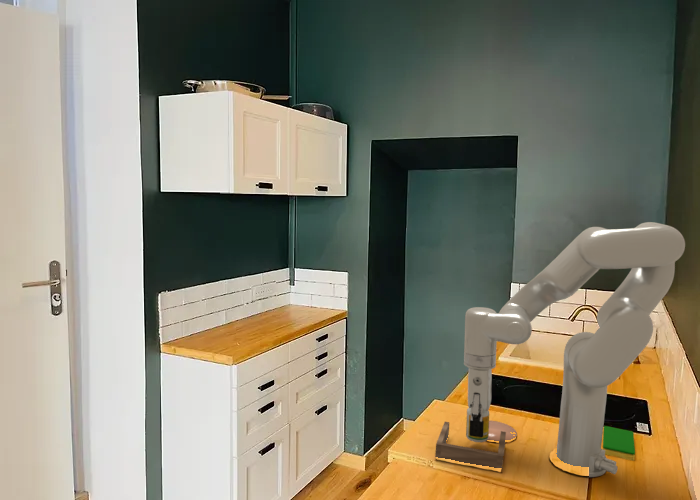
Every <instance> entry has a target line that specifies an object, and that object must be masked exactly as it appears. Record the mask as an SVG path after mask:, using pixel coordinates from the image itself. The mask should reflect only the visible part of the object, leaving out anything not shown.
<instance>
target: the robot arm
mask: <svg viewBox="0 0 700 500" xmlns="http://www.w3.org/2000/svg"><path fill="white" fill-rule="evenodd" d="M685 247H686V240H685V238H684V236H683V234H682V233H681V232H680V230H678V229H677V228H675V227H673V226H671V225H667V224H663V223H659V222H654V221H653V222H651V221H647V222H642V223H640V224H638V225H637V226H636V227H631V228H630V227H629V228H615V229H614V228H612V229H611V228H610V229H608V228H605V227H602V226H592V227H591V226H590V227H587V228H586V229H584V230H583V231H581V233H580V234H578V235H577V236H576V237H575V238H574V239H573V240H572V241H571V242H570V243H569V244H568V245H567V246H566V247H565V248H564V249H563V250H562V251H561V252H560V253H559V254H558V255H557V256H556V258H554V259H553V260H552V261H551V262H550V263H549V264H548V265H547V266H546V267H544V269H543V270H541V271H540V272H539V273H537V274H536V275H535V276H534V277H533V278H532V279H530V281H528V282H527V283H526V284H525V285H523V286H522V288H520V289H519V290H518V291H517V292H516V293H515V294H514V295H513V296H512V297H511V298H510V299H509V300H508V301H507V302H506V303H505V304H504V305H503V306H502V307H501V309H500V310H499V312H498V313H497V311H496V310H494V309H492V308H490V307H483V306H482V307H481V306H480V307H479V306H477V307H476V306H474V307H471V308H468V309H467V310H466V311H465V316H464V317H465V318H464V349H463V350H464V352H463V365H464V366H465V367H466V368H468V375H467V407H468V408H470V409H471V419H470V430H469V435H470V436H475V437H483V426H484V421H482V420H483V409H485V410H486V411H487V410H489V409H490V407H491V403H492V376H493V375H492V370H493V369H494V368H496V366H497V365H496V364H497V342H500V343H504V344H509V345H521V344H522V345H523V344H524V343H526V342H527V341H529V339H530V338H531V335H532V331H533V328H532V323H531V322H532V321H534V319H535V318H537V316H538V315H540V314H541V313H542V312H543V311H544V310H545V309H547V308H548V307H549V306H551V305H552V304H554V303H556V302H559V301H563V300H566V299H569V298H570V297H571V296H573V295H574V294H575V293H577V291H578V290H580V289H581V288H582V287H583V285H585V284H586V283H587V282H588V281H589V280H590V279H591V278H592V277H593V276H594V275H595V274H596V273H598V272H599V270H619V269H620V270H622V269H624V270H625V269H630V271H629V273H628V274H627V276H626V277H625V278H624V280H623V281H622V282H621V283H620V285H619V286H618V287H617V288H616V289H615V291H614V292H613V293H612V294H611V295H610V297H609V298H608V299H607V300H606V301H605V302H604V303H603V304H602V306H601V307H600V308H599V309H598V311H597V315H596V321H597V325H598V329H597V330H596V331H595V333H593V332H588V331H582V332H577V333H575V334H574V335H572V336H571V337H570V338H569V339H568V340H567V342H566V343H565V346H564V351H563V381H562V391H561V393H562V394H561V400H560V411H559V421H558V422H559V423H558V434H557V435H558V436H557V444H556V448H557V453H556V454H557V457H558V458H559V459H560V460H561V461H563V462H564V463H567V464H570V465H573V466H581V467H589V477H588V478H596V477H600V476H603V475H604V474H606V472H608V473H610V474H613V475H616V474H617V472H618V466H617V461H615V460H613V459H610V458H607V456H606V455H605V450H603V448H602V445H603V430H604V426H605V425H604V423H605V414H606V405H607V395H608V386H610V385H611V384H612V383H614V382H615V381H617V379H619V378H620V377H621V375H622V374H623V373H624V372H625V371H626V370H627V369H628V368H629V367H630V366H631V364H633V362H635V360H636V358H638V357H639V355H640V354H641V353H642V352H643V351H644V350H645V348H646V347H647V345H648V344H649V343H650V340H652V336H653V333H654V324H653V320H652V318H651V316H650V315H651V313H653V311H654V310H655V309H656V308H657V306H658V305H659V303H661V301H662V300H663V298H664V297H665V296H666V294H667V293H668V292H669V290H670V288H671V286H672V283H673V282H674V277H675V272H676V271H675V269H676V268H675V267H676V266H675V265H676V264H675V263H676V261H678V260H679V259H680V258H681V257H682V256H683V255H684V252H685V249H686V248H685ZM479 405H480V406H481V408H479ZM479 411H480V413H479ZM489 411H490V410H489Z"/></svg>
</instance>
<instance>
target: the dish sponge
mask: <svg viewBox="0 0 700 500" xmlns="http://www.w3.org/2000/svg"><path fill="white" fill-rule="evenodd" d="M602 449H603V450H605V456H606V455H607V456H610V457H614V458H619V459H623V460H628V461H635V457H636V447H635V436H634V431H632V430H627V429H623V428H617V427H612V426H608V425H603V434H602Z"/></svg>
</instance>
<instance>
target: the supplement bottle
mask: <svg viewBox="0 0 700 500" xmlns="http://www.w3.org/2000/svg"><path fill="white" fill-rule="evenodd" d="M479 408H481V406H480V405H479ZM479 413H480V411H479ZM470 419H471V409H470V408H469V407H468V408H467V410H466V422H465V423H466V424H465V425H466V427H465V437H466V438H467V440H469V441H471V442H475V443H484V442H486V441H487V440H488V435H489V420H490V410H487V411H486V410H485V409H483V420H482V421H484V426H483V437H475V436H470V435H469V430H470Z"/></svg>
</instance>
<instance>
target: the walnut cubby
mask: <svg viewBox="0 0 700 500" xmlns="http://www.w3.org/2000/svg"><path fill="white" fill-rule="evenodd" d="M449 432H450V422H449V421H444V423H443V425H442V427H441V430H440V433H439V436H438V438H437V440H436V443H435V453H434V456H435V457H438V458H445V459H451V460H455V461H459V462H464V463H470V464H476V465H482V466H489V467H494V468H502V469H503V466H504V458H503V456H505V449H506V448H505V447H506V443H505V437H506V432H503V431H501V434H500V441H499V444H498V449H497V452H495V451H491V450H490V451H489V450H484V449H480V448H479V449H478V448H473V447H467V446H461V445H458V444H457V445H456V444H451V443H446V440H447V438H448V439H449V437H448V435H450V434H449ZM447 441H448V440H447ZM504 448H505V449H504ZM435 457H434V458H435ZM502 465H503V466H502Z"/></svg>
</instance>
